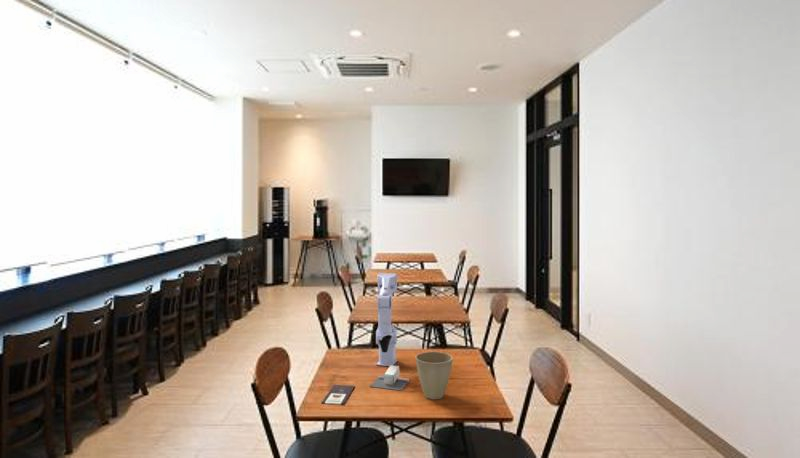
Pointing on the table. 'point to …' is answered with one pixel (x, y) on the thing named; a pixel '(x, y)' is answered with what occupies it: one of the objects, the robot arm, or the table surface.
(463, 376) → the table surface
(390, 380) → the tall block
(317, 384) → the table surface
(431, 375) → the plant pot
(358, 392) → the table surface
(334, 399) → the chocolate bar
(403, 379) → the stop rail
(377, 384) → the mat
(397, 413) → the table surface
